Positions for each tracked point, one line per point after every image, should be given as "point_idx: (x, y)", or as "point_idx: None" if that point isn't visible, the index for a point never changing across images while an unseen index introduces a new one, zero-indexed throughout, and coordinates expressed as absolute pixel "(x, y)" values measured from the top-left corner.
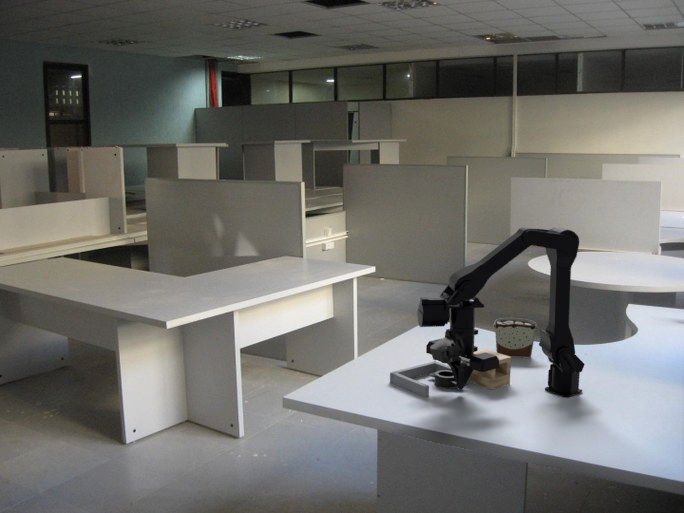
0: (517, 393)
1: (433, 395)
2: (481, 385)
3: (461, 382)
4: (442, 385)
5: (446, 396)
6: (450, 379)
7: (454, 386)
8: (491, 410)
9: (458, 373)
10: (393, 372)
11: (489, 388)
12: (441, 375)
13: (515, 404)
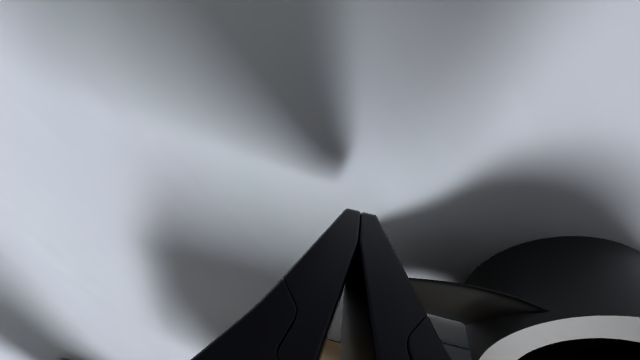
0: (172, 335)
1: (578, 14)
2: (338, 347)
3: (310, 249)
4: (566, 250)
5: (433, 87)
6: (510, 316)
7: (469, 282)
8: (15, 69)
9: (321, 337)
10: None
11: None
12: None
13: (62, 233)
